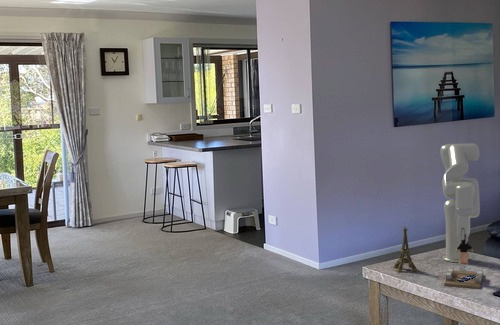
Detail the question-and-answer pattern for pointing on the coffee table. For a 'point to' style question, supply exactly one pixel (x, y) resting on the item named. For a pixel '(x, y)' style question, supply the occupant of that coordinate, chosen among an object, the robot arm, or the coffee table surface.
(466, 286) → the board
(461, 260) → the grandmother figurine
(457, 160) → the robot arm
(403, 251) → the eiffel tower
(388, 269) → the coffee table surface
